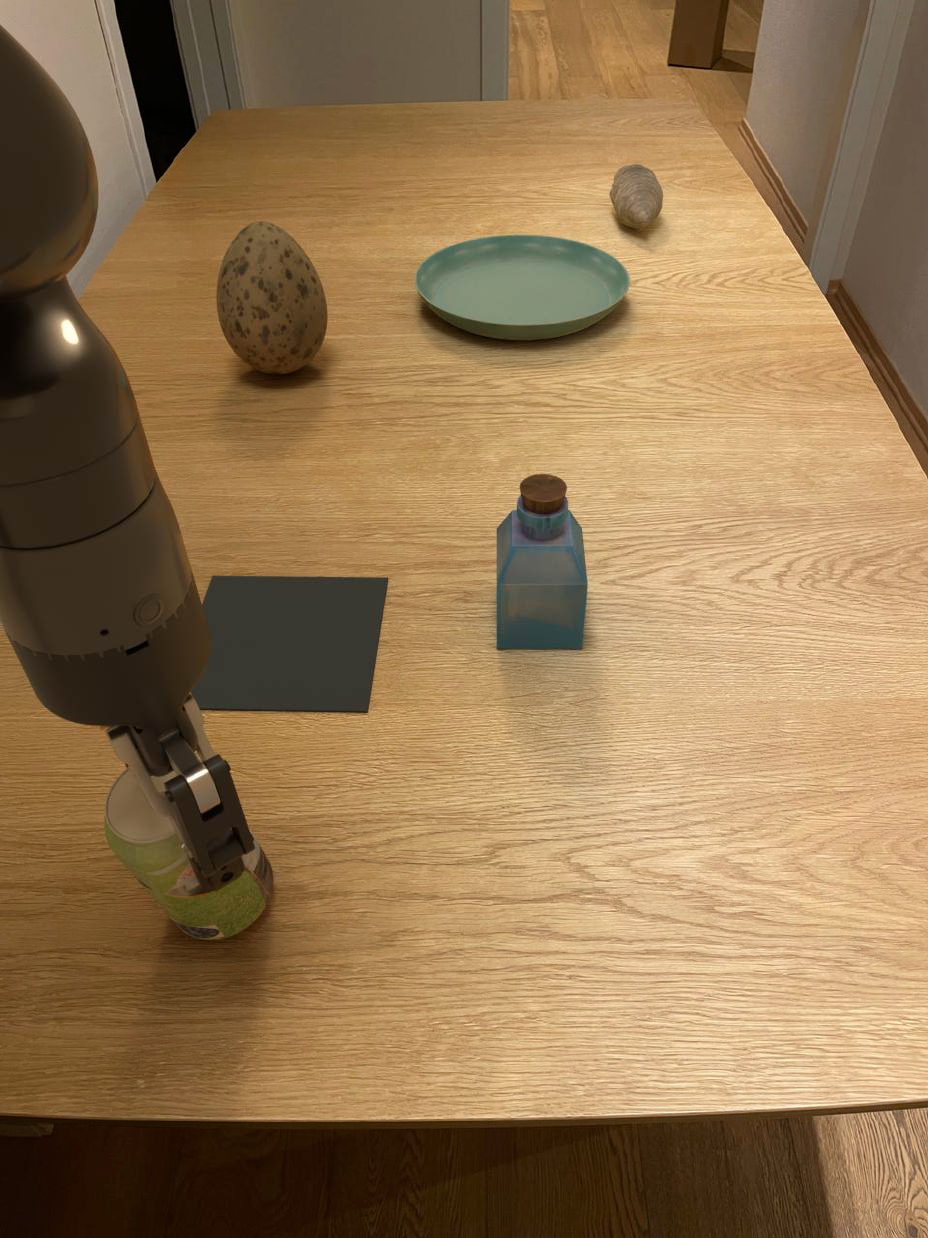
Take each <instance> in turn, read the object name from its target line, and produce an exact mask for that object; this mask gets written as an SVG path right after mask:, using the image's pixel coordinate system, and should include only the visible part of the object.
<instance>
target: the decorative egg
mask: <svg viewBox="0 0 928 1238" xmlns="http://www.w3.org/2000/svg"><path fill="white" fill-rule="evenodd" d="M217 277H218V278H217V283H216V312H217V317H218V321H219V325H220V329H221V331H222V334H223V336H224V338H225V340H226V342H227V344H228V345H229V347H230V348H231V349H232V351H233V352H234V353H235V354H236V356H237V357H238V358H240V360H241V361H242V362H244V363H245V364H246V365H248V366H250V367H251V368H253V369H255V370H257V371H259V372H262V373H265V374H269V375H287V374H291V373H294V372H297V371H298V370H300V369H302V368H304V367H305V366H306V365H308V364H310V362H311V361H313V359H314V357H315V356H316V355H317V354H318V353H319V351H320V349H321V347H322V346H323V343H324V340H325V337H326V333H327V329H328V316H329V315H328V304H327V298H326V293H325V290H324V287H323V284H322V281H321V278H320V275H319V273H318V271H317V269H316V268H315V266H314V264H313V262H312V261H311V258H310V257H309V256H308V254H307V253H306V251H305V250H304V248H303V247H302V246H301V245H300V244H299V243H298V242H297V240H295V238H294V237H293V236H292V235H291V234H289V232H287V231H286V230H284V229H283V228H282V227H280V226H278V225H276V224H274V223H273V222H269V221H264V220H260V221H254V222H251V223H249V224H247V225H246V226H244V227H243V228H242V229H240V230H239V232H238V233H237V234H236V235H235V237H234V238H233V239H232V240H231V242H230V244H229V246H228V247H227V250H226V251H225V254H224V256H223V257H222V261H221V264H220V267H219V271H218V276H217Z"/></svg>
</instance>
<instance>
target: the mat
mask: <svg viewBox="0 0 928 1238" xmlns="http://www.w3.org/2000/svg"><path fill="white" fill-rule="evenodd" d="M388 583H389V577H385V576H383V577H382V576H379V577H378V576H375V577H374V576H372V577H371V576H295V575H294V576H291V575H289V576H287V575H286V576H285V575H284V576H283V575H282V576H281V575H280V576H279V575H276V576H275V575H211V578H210V581H209V584H208V587H207V589H206V592H205V595H204V598H203V600H202V602H201V604H202V607H203V611H204V614H205V618H206V621H207V625H208V628H209V632H210V635H211V654H210V658H209V661H208V664H207V666H206V668H205V670H204V672H203V674H202V676H201V677H200V679H199V680H198V681H197V683H196V684H195V686H194V687H193V689H192V690H191V694H192V695H193V697H194V699H195V701H196V703H197V705H198V707H199V709H200V711H253V712H254V711H256V712H257V711H258V712H259V711H260V712H261V711H262V712H265V711H266V712H313V713H314V712H319V713H321V712H322V713H368V712H369V706H370V701H371V700H370V699H371V693H372V686H373V681H374V674H375V667H376V661H377V654H378V648H379V642H380V635H381V628H382V622H383V616H384V608H385V602H386V595H387V589H388Z"/></svg>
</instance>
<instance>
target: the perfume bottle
mask: <svg viewBox="0 0 928 1238" xmlns="http://www.w3.org/2000/svg"><path fill="white" fill-rule="evenodd" d="M567 485H568V484H567V483H566V481H564V480H563V479H562V478H561V477H558V476H557V475H553V474H549V473H538V474H537V473H536V474H532V475H529V476H527V477H525V478H523V480H521V482H520V483H519V487H518V489H519V493H520V495H519V496H518V497H517V501H516V509H511V511H510V512H509V513H508V514H507V516H506V517H505V518H504V519H503V520H502V521H501V522H500V524H499V525H498V526H497V527H496V650H583V648H584V647H583V645H584V633H585V622H586V611H587V600H588V599H587V598H588V588H589V582H588V573H587V564H586V563H587V562H586V553H585V545H584V544H585V543H584V534H583V533H584V532H583V528H582V526H581V525H580V523H579V521H578V520H577V518H576V517H575V516H574V515H573V512H571V510H570V509H569V500H568V497H567V496H566V495H567V491H568V486H567Z"/></svg>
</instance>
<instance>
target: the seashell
mask: <svg viewBox="0 0 928 1238" xmlns="http://www.w3.org/2000/svg"><path fill="white" fill-rule="evenodd" d="M608 195H609V198H610V201H611V204H612V206H613V207H614V210H615V212H616V214H617V216H618V218H619V220H620V222H621V223H622V224H623V225H625V226H626V227H629V228H632V229H643V228H645V227H648V226H649V225H651V224H653V223H654V222H655V221H656V219H657V218H658V217H659V215H660V214H661V211H662V209H663V203H664V202H663V201H664V192H663V187H662V186H661V184H660V182H659V180H658V178H657V176H656V174H655V172H654V171H653V170H651V169H650V168H648V167H646V166H645V165H642V164H638V163H632V164H629V165H628V164H627V165H623V166H621V167H620V168H619V169H618V170H616V172H615V174H614V176H613V182H612V184H611V188H610V191H609V194H608Z"/></svg>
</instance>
